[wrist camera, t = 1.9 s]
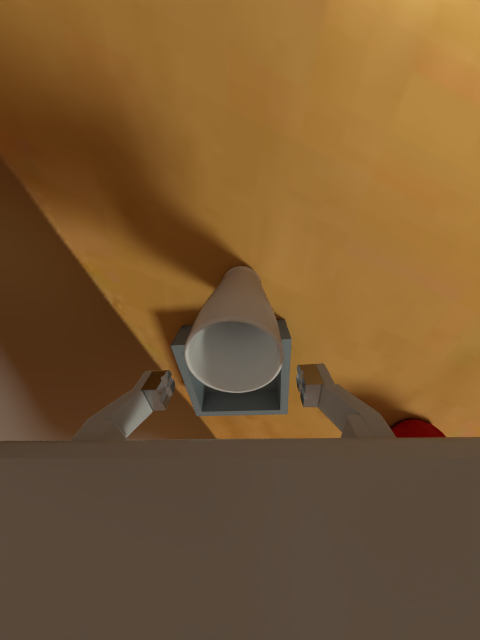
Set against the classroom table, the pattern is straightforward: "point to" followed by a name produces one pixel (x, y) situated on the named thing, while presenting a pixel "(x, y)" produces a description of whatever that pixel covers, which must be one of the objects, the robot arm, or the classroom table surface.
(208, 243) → the classroom table surface
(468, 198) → the classroom table surface
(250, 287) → the drinking glass
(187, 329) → the bin
